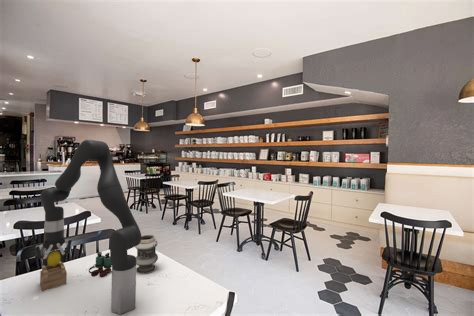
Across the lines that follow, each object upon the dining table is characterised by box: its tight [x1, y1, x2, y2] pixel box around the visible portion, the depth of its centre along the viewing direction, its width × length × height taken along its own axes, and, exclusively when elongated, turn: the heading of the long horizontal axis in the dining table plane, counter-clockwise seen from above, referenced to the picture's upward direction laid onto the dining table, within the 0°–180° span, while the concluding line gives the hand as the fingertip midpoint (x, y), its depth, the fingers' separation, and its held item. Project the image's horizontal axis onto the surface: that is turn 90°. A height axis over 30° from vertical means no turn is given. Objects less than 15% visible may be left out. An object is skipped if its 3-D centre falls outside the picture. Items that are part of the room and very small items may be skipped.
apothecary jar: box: [134, 234, 159, 274], centre depth 128 cm, size 12×12×18 cm
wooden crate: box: [39, 261, 68, 293], centre depth 111 cm, size 9×9×8 cm
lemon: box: [47, 250, 61, 267], centre depth 111 cm, size 6×6×8 cm
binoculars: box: [88, 251, 112, 278], centre depth 121 cm, size 9×11×10 cm
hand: (53, 263), depth 111 cm, fingers closed on lemon, 5 cm apart
